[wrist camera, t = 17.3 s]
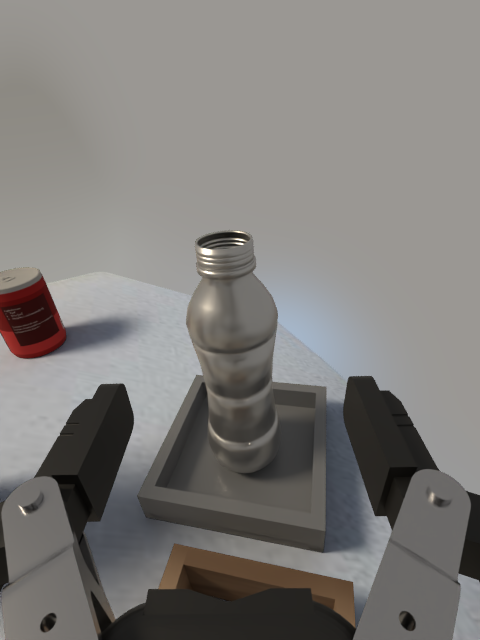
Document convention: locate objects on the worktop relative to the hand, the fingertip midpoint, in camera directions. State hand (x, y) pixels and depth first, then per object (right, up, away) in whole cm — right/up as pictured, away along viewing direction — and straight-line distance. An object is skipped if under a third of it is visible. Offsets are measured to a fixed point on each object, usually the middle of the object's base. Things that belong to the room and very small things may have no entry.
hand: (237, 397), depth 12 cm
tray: (+1, -10, +19) cm, 22 cm away
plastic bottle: (+1, -9, +19) cm, 21 cm away
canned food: (-30, -1, +39) cm, 49 cm away
